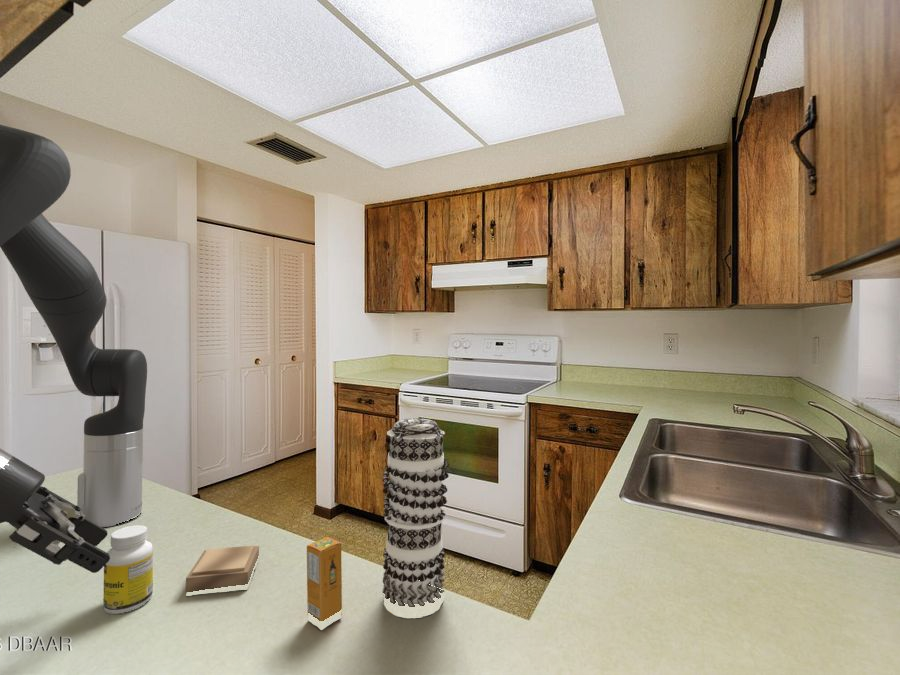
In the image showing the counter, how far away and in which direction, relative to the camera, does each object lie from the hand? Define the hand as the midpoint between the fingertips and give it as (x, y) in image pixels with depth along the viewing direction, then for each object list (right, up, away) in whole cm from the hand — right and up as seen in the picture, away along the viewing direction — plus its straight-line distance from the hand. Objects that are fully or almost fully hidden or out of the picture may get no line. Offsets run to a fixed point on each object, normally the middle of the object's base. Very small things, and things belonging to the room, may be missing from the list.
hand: (102, 551), depth 57 cm
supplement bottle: (+2, -8, +2) cm, 9 cm away
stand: (+12, -8, +8) cm, 17 cm away
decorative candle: (+41, -9, +4) cm, 42 cm away
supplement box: (+29, -9, -1) cm, 31 cm away
